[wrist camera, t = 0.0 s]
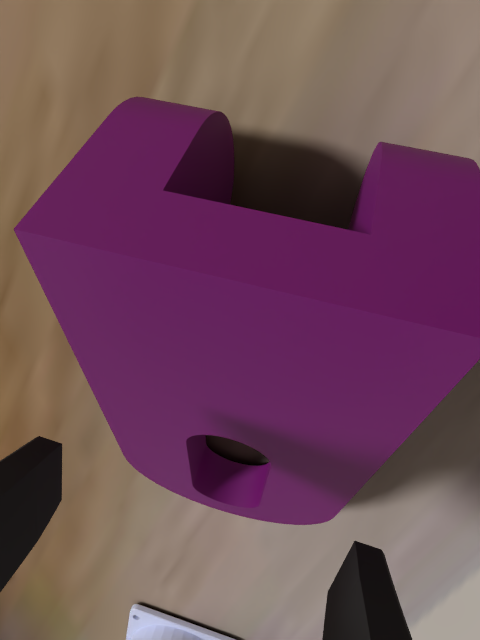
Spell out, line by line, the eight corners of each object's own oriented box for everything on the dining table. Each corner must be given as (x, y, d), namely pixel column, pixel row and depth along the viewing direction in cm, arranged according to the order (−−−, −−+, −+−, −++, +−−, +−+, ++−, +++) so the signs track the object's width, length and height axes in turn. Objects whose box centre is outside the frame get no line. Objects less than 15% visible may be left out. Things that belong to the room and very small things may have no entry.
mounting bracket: (337, 392, 27) (477, 103, 13) (314, 538, 22) (499, 342, 8) (189, 353, 28) (163, 48, 14) (137, 485, 24) (13, 227, 9)
